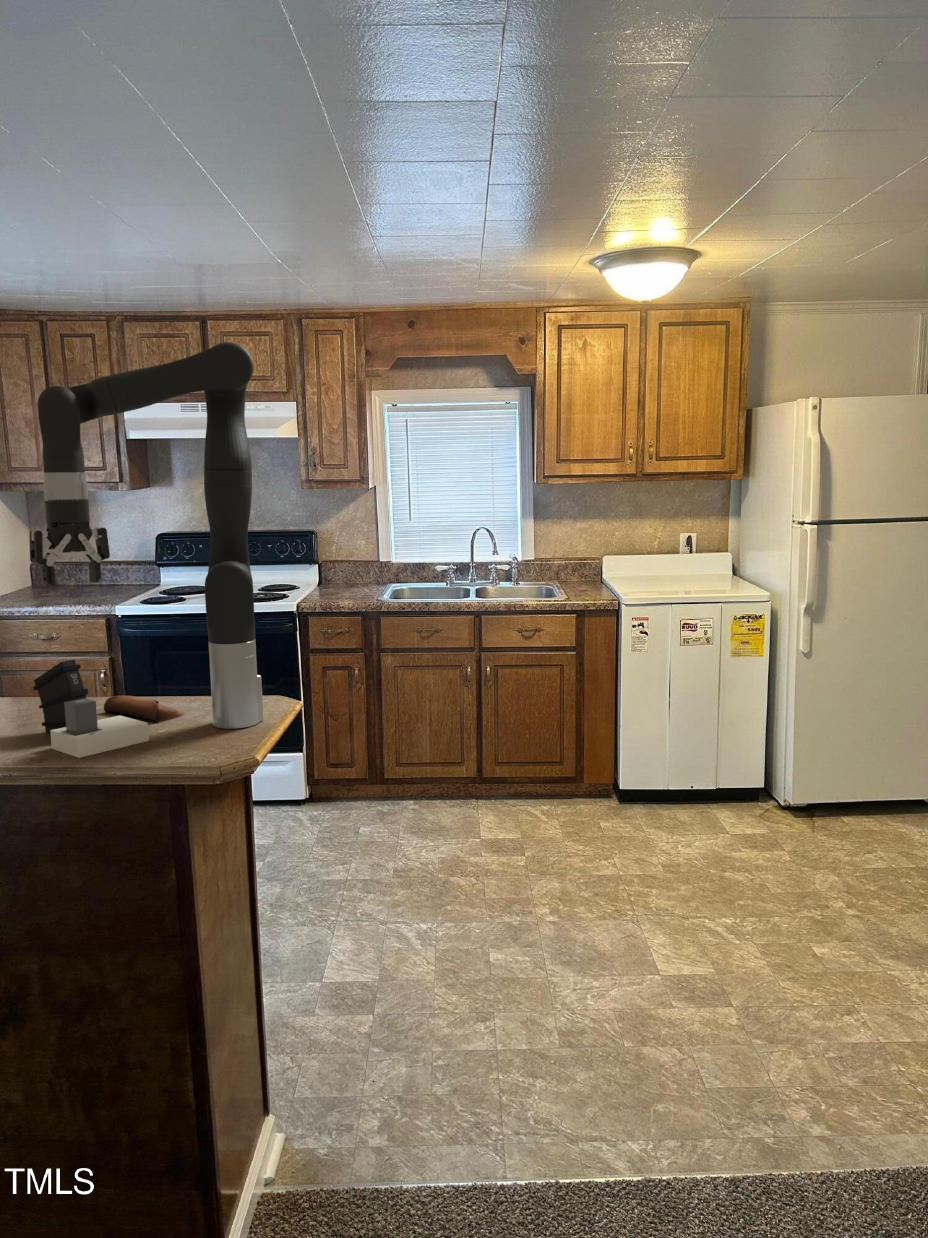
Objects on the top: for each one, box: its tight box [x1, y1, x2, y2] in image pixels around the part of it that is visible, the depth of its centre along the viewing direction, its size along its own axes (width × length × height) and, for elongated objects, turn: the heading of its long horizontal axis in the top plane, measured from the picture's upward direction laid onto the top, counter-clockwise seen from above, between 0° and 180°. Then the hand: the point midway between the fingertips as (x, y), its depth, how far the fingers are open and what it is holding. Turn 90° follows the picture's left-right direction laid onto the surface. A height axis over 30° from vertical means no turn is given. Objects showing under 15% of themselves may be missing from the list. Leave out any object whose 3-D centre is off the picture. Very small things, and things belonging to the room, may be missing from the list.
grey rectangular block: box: [64, 697, 98, 736], centre depth 167 cm, size 4×4×9 cm
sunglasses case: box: [103, 695, 186, 723], centre depth 194 cm, size 18×7×7 cm, turn 57°
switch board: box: [50, 714, 150, 759], centre depth 170 cm, size 14×10×4 cm
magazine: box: [32, 659, 89, 735], centre depth 177 cm, size 4×13×15 cm, turn 58°
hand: (73, 584), depth 170 cm, fingers open, 8 cm apart
